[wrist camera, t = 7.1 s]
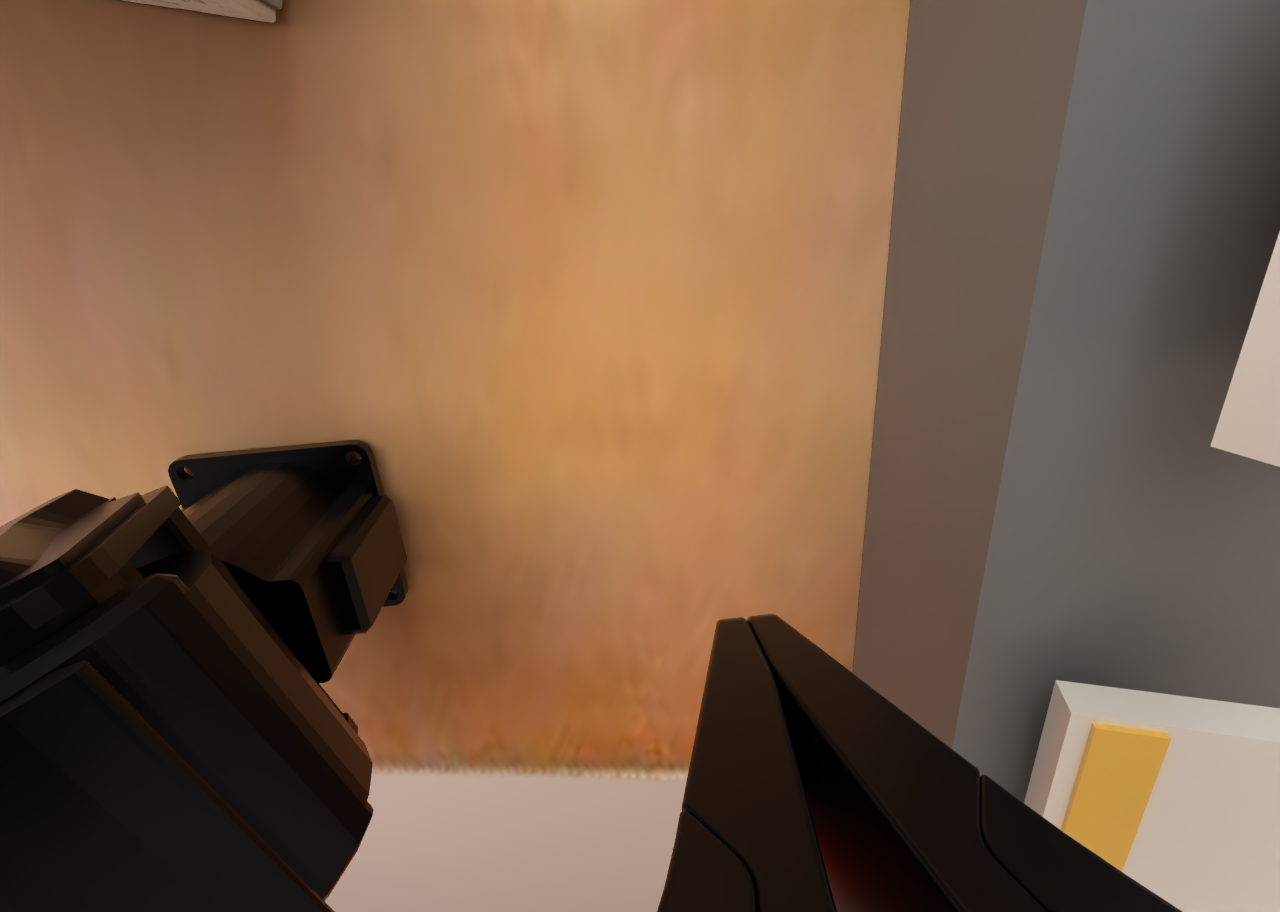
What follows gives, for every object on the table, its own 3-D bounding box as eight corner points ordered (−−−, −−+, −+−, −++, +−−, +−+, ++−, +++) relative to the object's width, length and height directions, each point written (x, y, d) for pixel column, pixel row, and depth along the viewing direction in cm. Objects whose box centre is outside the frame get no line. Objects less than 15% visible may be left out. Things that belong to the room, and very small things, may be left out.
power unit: (846, 744, 28) (955, 971, 20) (915, -59, 16) (1254, -337, 8) (1092, 715, 28) (1300, 922, 20) (1327, -82, 17) (2041, -365, 9)
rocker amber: (997, 907, 20) (1008, 953, 19) (1055, 680, 16) (1074, 719, 15) (1335, 982, 18) (1373, 1041, 17) (1497, 735, 14) (1562, 788, 13)
